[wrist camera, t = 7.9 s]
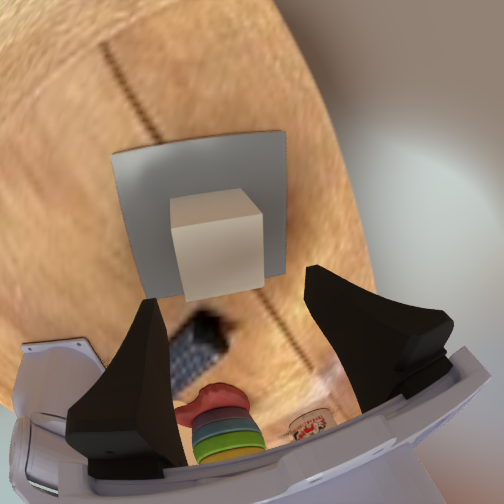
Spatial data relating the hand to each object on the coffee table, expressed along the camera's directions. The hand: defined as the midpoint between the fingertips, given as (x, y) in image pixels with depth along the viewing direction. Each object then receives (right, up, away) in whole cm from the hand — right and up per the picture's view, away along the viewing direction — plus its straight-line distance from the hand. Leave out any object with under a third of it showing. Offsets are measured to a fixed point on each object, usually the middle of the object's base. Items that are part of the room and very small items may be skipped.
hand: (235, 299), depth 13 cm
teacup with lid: (+11, -31, +34) cm, 47 cm away
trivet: (-3, +5, +8) cm, 10 cm away
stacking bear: (-4, -19, +22) cm, 30 cm away
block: (-2, +4, +7) cm, 9 cm away
